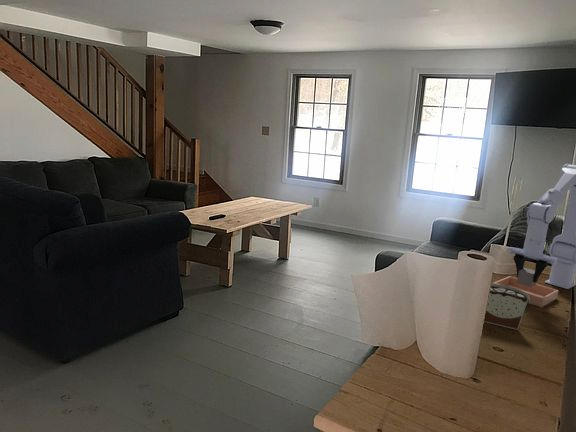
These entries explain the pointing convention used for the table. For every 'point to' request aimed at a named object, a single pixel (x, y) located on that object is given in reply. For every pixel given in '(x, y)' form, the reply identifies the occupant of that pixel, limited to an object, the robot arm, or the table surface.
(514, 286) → the terracotta bin
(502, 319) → the food container
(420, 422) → the table surface
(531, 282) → the grey block
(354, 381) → the table surface
